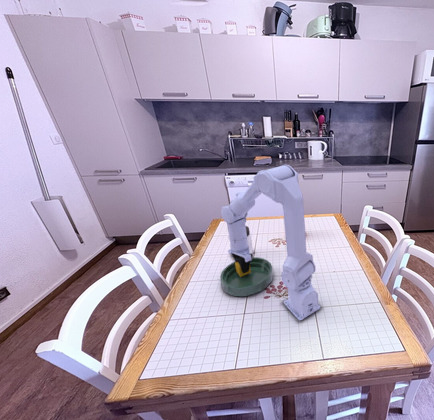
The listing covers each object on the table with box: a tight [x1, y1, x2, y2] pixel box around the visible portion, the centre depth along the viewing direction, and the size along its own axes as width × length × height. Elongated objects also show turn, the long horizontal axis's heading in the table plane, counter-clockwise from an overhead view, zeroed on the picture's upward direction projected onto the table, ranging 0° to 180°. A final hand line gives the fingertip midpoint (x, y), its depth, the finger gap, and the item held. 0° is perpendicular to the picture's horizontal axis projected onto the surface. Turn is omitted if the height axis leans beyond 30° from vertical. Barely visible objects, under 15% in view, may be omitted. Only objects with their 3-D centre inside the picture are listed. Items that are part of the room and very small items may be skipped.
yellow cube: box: [235, 262, 251, 277], centre depth 87 cm, size 4×4×4 cm
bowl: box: [219, 256, 274, 297], centre depth 85 cm, size 18×18×4 cm
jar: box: [228, 225, 254, 255], centre depth 99 cm, size 9×8×12 cm
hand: (243, 268), depth 87 cm, fingers closed on yellow cube, 4 cm apart
